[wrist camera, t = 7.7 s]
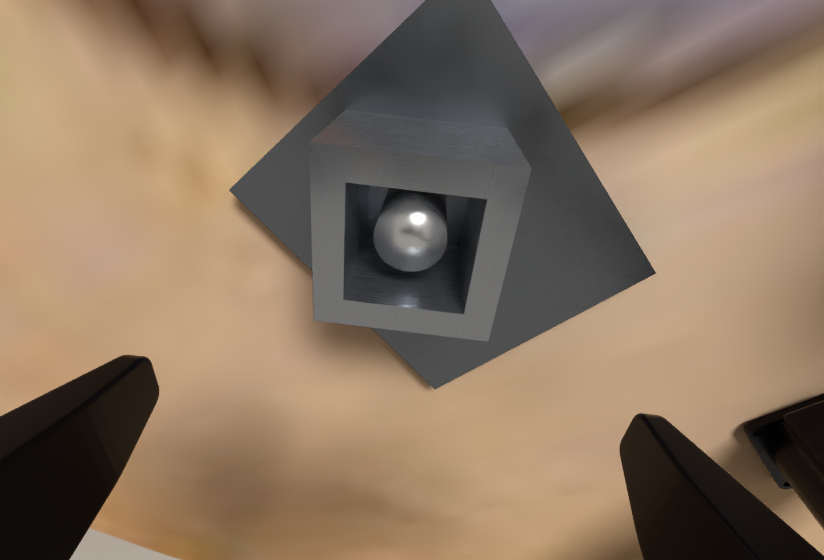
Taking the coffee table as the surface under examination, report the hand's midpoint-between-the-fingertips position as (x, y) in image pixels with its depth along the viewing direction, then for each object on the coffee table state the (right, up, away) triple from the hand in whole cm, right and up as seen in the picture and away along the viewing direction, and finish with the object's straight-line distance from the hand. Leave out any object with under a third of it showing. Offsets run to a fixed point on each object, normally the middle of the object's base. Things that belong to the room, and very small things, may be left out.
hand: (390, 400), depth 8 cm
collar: (+1, +6, +9) cm, 11 cm away
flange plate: (+2, +5, +11) cm, 12 cm away
